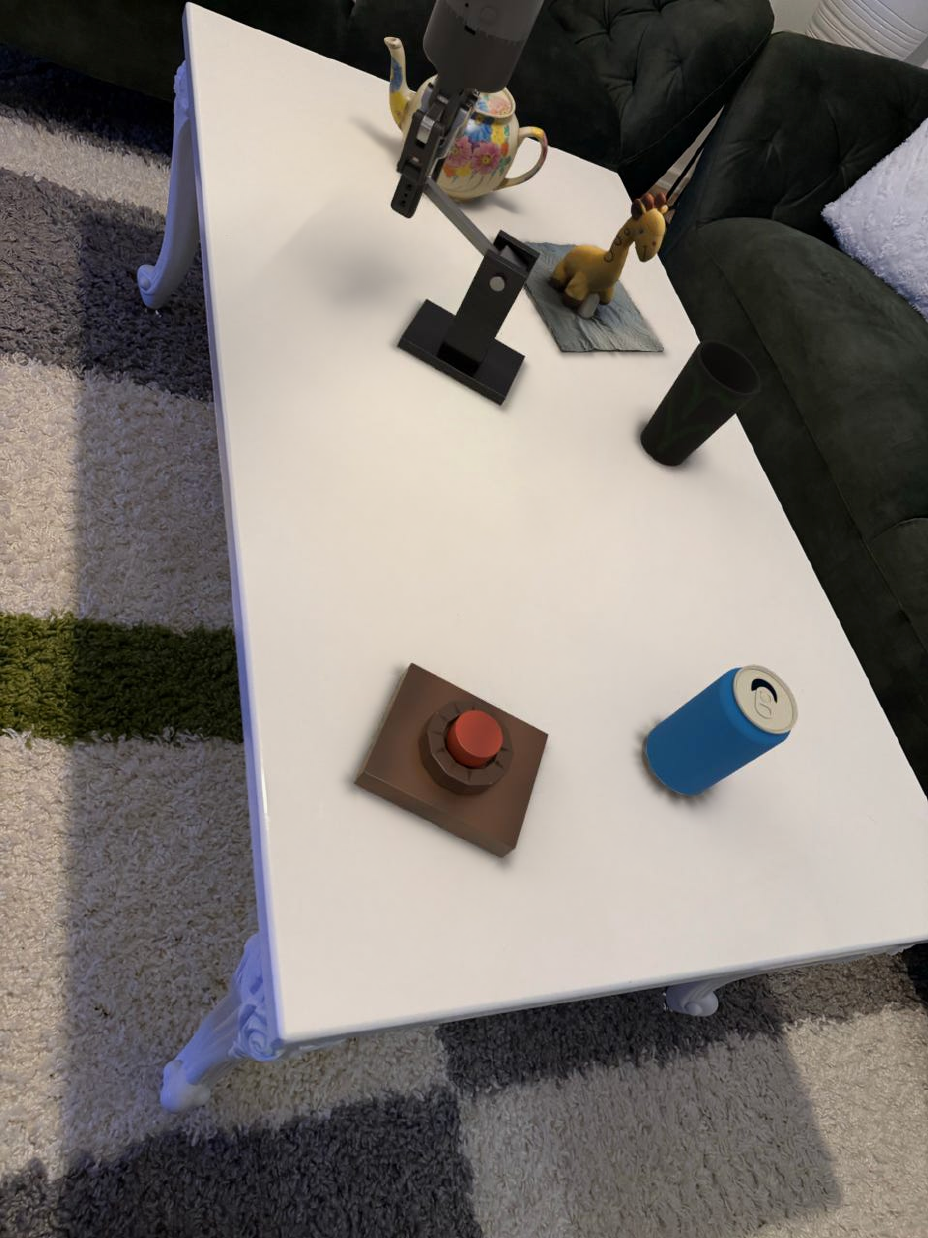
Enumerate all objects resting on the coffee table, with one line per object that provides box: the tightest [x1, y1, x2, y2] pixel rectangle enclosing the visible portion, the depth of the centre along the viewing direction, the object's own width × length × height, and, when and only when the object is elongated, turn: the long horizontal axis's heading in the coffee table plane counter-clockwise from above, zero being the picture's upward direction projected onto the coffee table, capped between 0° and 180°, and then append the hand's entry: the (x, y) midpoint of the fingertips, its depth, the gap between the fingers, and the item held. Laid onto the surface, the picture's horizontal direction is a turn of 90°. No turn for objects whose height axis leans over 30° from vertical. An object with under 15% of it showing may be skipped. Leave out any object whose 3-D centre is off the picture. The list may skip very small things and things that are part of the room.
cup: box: [640, 339, 762, 467], centre depth 93 cm, size 8×8×12 cm
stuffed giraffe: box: [523, 192, 669, 353], centre depth 101 cm, size 16×18×16 cm
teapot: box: [383, 36, 549, 204], centre depth 103 cm, size 20×14×13 cm
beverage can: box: [645, 664, 799, 796], centre depth 70 cm, size 6×6×12 cm
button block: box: [353, 662, 549, 859], centre depth 64 cm, size 12×10×4 cm
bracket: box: [396, 229, 540, 406], centre depth 87 cm, size 12×8×13 cm, turn 71°
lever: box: [421, 163, 527, 270], centre depth 81 cm, size 13×5×2 cm, turn 71°
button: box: [446, 710, 503, 767], centre depth 62 cm, size 4×4×2 cm
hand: (411, 198), depth 81 cm, fingers closed on lever, 5 cm apart
